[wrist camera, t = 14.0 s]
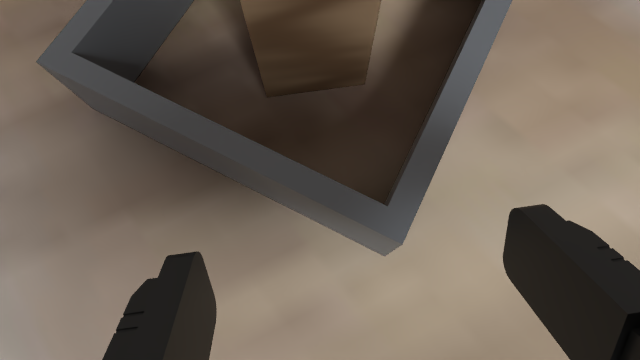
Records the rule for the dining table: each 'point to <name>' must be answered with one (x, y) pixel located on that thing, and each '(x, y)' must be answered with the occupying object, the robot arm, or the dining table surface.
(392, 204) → the box
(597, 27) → the dining table surface
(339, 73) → the walnut block
